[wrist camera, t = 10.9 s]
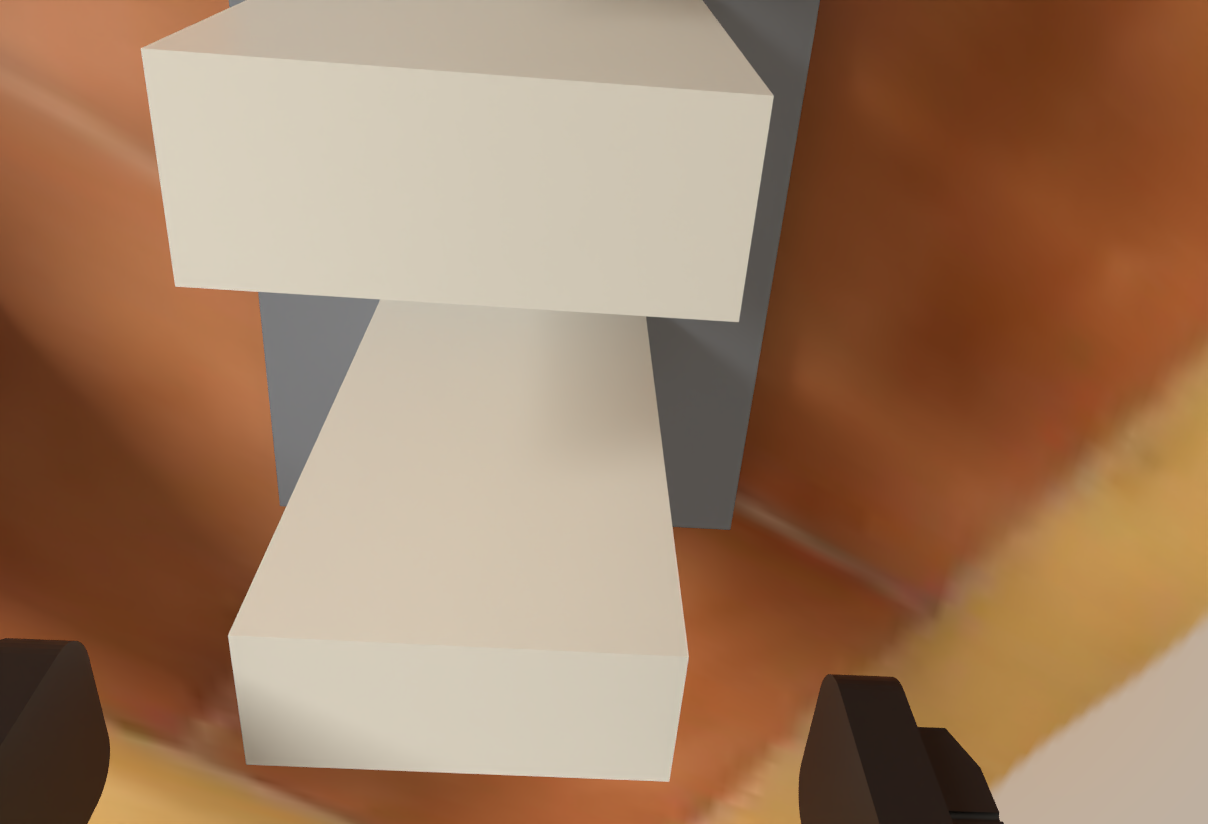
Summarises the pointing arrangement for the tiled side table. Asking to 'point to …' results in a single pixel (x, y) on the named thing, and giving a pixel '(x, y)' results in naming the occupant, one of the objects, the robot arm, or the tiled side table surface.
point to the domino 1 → (463, 153)
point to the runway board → (678, 346)
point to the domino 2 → (474, 559)
